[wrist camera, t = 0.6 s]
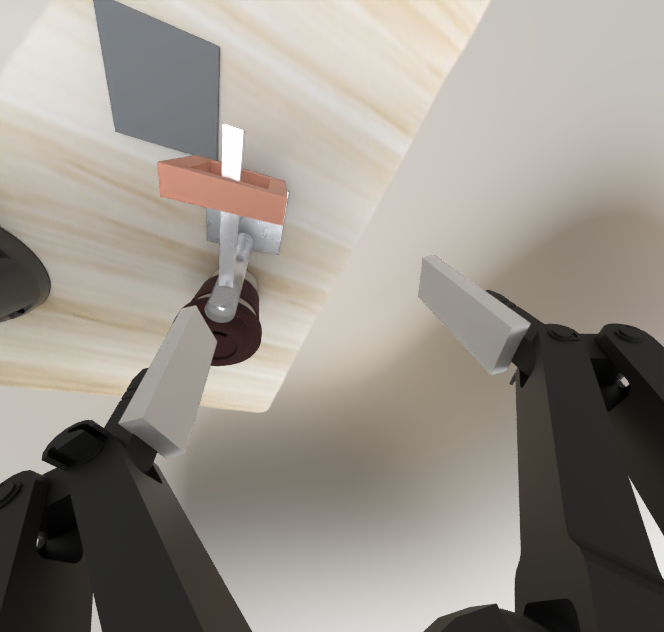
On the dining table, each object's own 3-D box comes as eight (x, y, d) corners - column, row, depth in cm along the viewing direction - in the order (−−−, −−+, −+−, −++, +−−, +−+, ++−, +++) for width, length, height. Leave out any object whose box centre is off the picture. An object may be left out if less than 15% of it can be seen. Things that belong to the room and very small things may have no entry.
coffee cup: (232, 318, 43) (215, 386, 31) (187, 277, 37) (143, 341, 25) (277, 291, 41) (277, 351, 29) (237, 243, 36) (216, 295, 24)
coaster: (119, 131, 26) (115, 131, 26) (97, -5, 21) (91, -10, 20) (217, 161, 29) (216, 161, 29) (219, 48, 24) (218, 45, 23)
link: (197, 179, 23) (160, 196, 16) (197, 155, 22) (157, 161, 15) (281, 202, 25) (282, 225, 18) (285, 181, 24) (287, 198, 17)
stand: (208, 239, 34) (153, 315, 19) (208, 118, 27) (119, 88, 12) (278, 253, 37) (277, 328, 22) (295, 148, 30) (312, 154, 15)
